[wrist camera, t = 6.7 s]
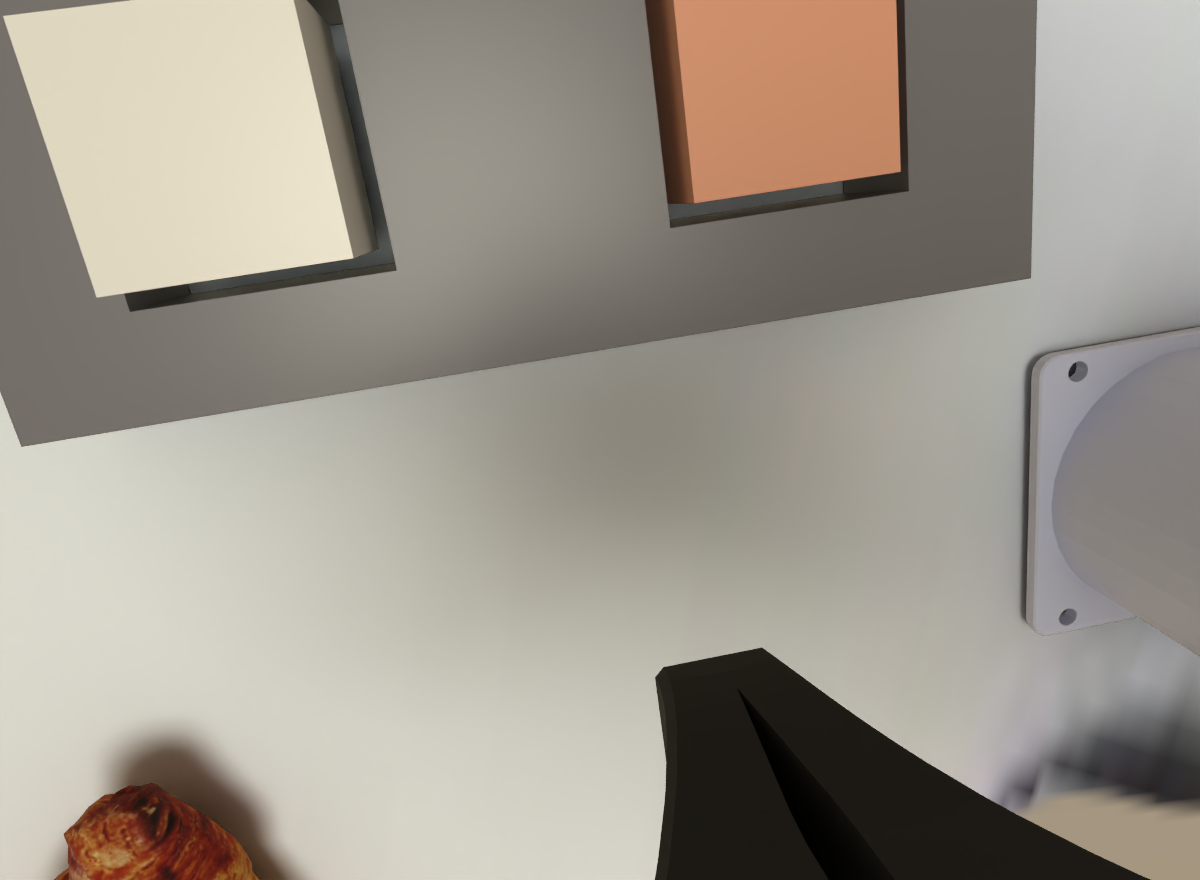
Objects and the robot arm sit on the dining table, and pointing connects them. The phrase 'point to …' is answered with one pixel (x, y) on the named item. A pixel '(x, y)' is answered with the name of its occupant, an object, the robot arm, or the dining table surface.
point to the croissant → (151, 841)
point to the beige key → (196, 137)
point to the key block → (519, 218)
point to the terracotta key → (773, 93)
